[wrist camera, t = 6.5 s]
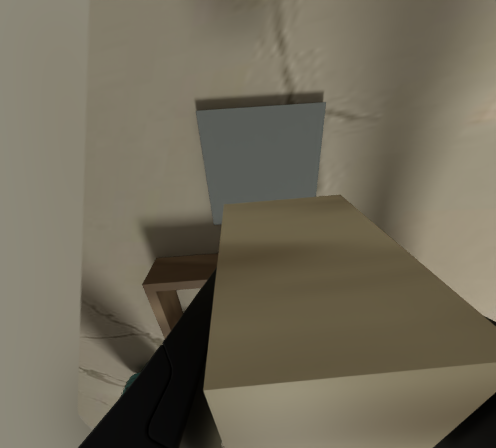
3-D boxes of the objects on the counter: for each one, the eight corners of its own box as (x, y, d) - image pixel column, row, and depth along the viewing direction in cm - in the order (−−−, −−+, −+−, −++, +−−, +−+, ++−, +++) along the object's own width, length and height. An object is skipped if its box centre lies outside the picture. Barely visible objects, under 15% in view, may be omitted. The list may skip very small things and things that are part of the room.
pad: (311, 214, 21) (313, 217, 21) (214, 221, 21) (213, 224, 21) (323, 102, 17) (325, 102, 16) (197, 110, 16) (195, 110, 16)
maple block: (326, 280, 10) (420, 458, 5) (235, 288, 10) (235, 478, 5) (340, 194, 8) (533, 358, 3) (223, 204, 8) (202, 390, 3)
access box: (279, 327, 30) (285, 355, 27) (182, 334, 30) (175, 364, 26) (281, 248, 23) (289, 273, 20) (156, 258, 23) (142, 284, 20)
